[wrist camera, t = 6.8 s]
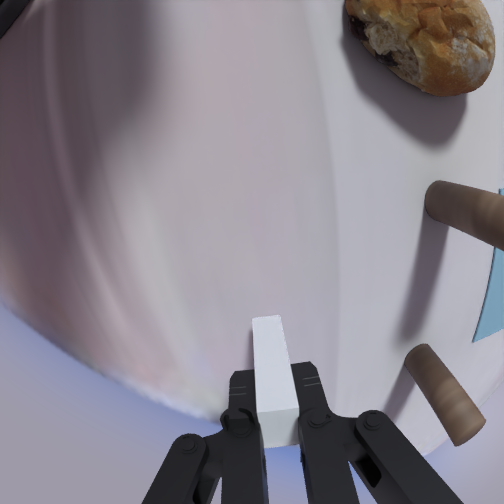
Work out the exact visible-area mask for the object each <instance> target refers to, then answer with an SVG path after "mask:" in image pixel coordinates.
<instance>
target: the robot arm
mask: <svg viewBox="0 0 504 504" xmlns="http://www.w3.org/2000/svg"><path fill="white" fill-rule="evenodd" d="M28 1H29V0H0V38H1V36H2V35H3V34H4V33H5V32H6V30H7V29H8V28H9V27H10V25H11V24H12V23H13V21H14V20H15V19H16V18H17V16H18V15H19V14H20V12H21V11H22V9H23V8H24V7H25V5H26V4H27V3H28ZM252 325H253V345H254V366H255V369H253V370H243V371H235V372H234V373H233V375H232V376H231V378H230V387H229V388H230V389H229V407H228V409H227V410H225V411H224V412H223V414H222V415H221V418H220V421H221V424H222V427H223V429H222V430H221V431H220V432H218V433H216V434H214V435H210V436H206V437H203V438H202V437H201V436H199V435H196V434H189V433H188V434H185V435H181V436H180V437H178V438H177V439H176V440H175V441H174V442H173V444H172V446H171V448H170V450H169V452H168V454H167V456H166V458H165V460H164V462H163V464H162V466H161V468H160V469H159V471H158V473H157V475H156V477H155V479H154V481H153V483H152V485H151V487H150V489H149V490H148V492H147V494H146V496H145V498H144V500H143V502H142V504H210V503H211V501H212V498H213V495H214V492H215V490H216V487H217V485H218V482H219V479H220V477H222V494H221V504H269V499H268V485H267V472H266V459H265V455H264V448H272V447H281V446H289V445H296V444H299V443H300V449H301V462H302V466H303V473H304V478H305V485H306V491H307V498H308V504H360V503H359V500H358V496H357V492H356V488H355V485H354V481H353V478H352V474H351V471H350V467H349V463H348V461H349V462H350V463H351V465H352V466H353V468H354V469H355V471H356V472H357V474H358V475H359V477H360V478H361V480H362V481H363V483H364V484H365V486H366V487H367V489H368V490H369V492H370V493H371V495H372V496H373V498H374V499H375V501H376V502H377V504H464V503H463V502H462V501H461V500H460V499H459V498H458V497H457V495H456V494H455V493H454V492H453V491H452V490H451V489H450V487H449V486H448V485H447V484H446V483H445V482H444V481H443V480H442V478H441V477H440V476H439V475H438V474H437V473H436V471H435V470H434V469H433V468H432V467H431V466H430V465H429V463H428V462H427V461H426V460H425V459H424V458H423V456H422V455H421V454H420V453H419V452H418V451H417V450H416V448H415V447H414V446H413V445H412V444H411V443H410V442H409V440H408V439H407V438H406V437H405V436H404V435H403V433H402V432H401V431H400V430H399V429H398V428H397V427H396V425H395V424H394V423H393V422H392V421H391V420H390V418H389V417H388V416H387V415H386V414H384V413H383V412H381V411H378V410H369V411H366V412H363V413H362V414H361V415H359V417H358V418H349V417H341V416H338V415H336V414H334V413H333V412H332V411H331V410H330V409H329V407H328V404H327V400H326V397H325V394H324V391H323V387H322V384H321V381H320V378H319V374H318V371H317V368H316V367H315V366H314V365H313V364H312V363H311V362H310V361H309V362H302V363H296V364H290V361H289V356H288V351H287V346H286V342H285V337H284V332H283V327H282V323H281V318H280V315H273V316H265V317H257V318H252Z"/></svg>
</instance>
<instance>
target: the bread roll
mask: <svg viewBox="0 0 504 504" xmlns="http://www.w3.org/2000/svg"><path fill="white" fill-rule="evenodd" d="M345 7H346V9H347V12H348V14H349V22H348V25H349V30H350V31H351V34H352V35H353V36H354V37H356V38H358V39H359V40H361V41H362V44H363V45H364V46H365V47H366V49H367V50H368V51H369V52H370V53H371V54H372V55H374V57H375V58H376V59H377V61H379V62H381V63H383V64H385V65H386V66H387V67H388V68H389V69H390V70H392V71H393V72H394V73H395V74H396V75H397V76H398V77H399V78H401V79H403V80H405V81H407V82H408V83H410V84H412V85H414V86H416V87H418V88H420V89H421V91H422V92H427V93H429V94H432V95H435V96H439V97H441V96H442V97H443V96H455V95H459V94H461V93H468V92H472V91H474V90H476V89H477V88H479V87H480V86H482V85H483V83H484V82H485V81H486V79H487V78H488V76H489V74H490V72H491V70H492V67H493V63H494V58H495V35H494V28H493V26H492V22H491V20H490V17H489V15H488V13H487V11H486V9H485V7H484V5H483V4H482V2H481V1H480V0H346V3H345Z"/></svg>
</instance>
